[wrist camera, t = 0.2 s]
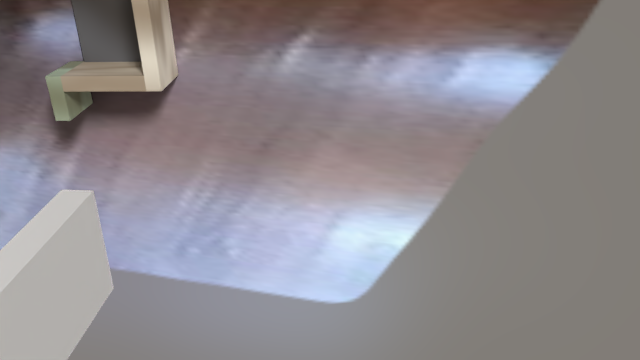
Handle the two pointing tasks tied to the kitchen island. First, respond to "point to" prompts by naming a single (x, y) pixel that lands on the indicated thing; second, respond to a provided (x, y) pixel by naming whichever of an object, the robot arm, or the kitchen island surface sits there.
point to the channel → (115, 53)
